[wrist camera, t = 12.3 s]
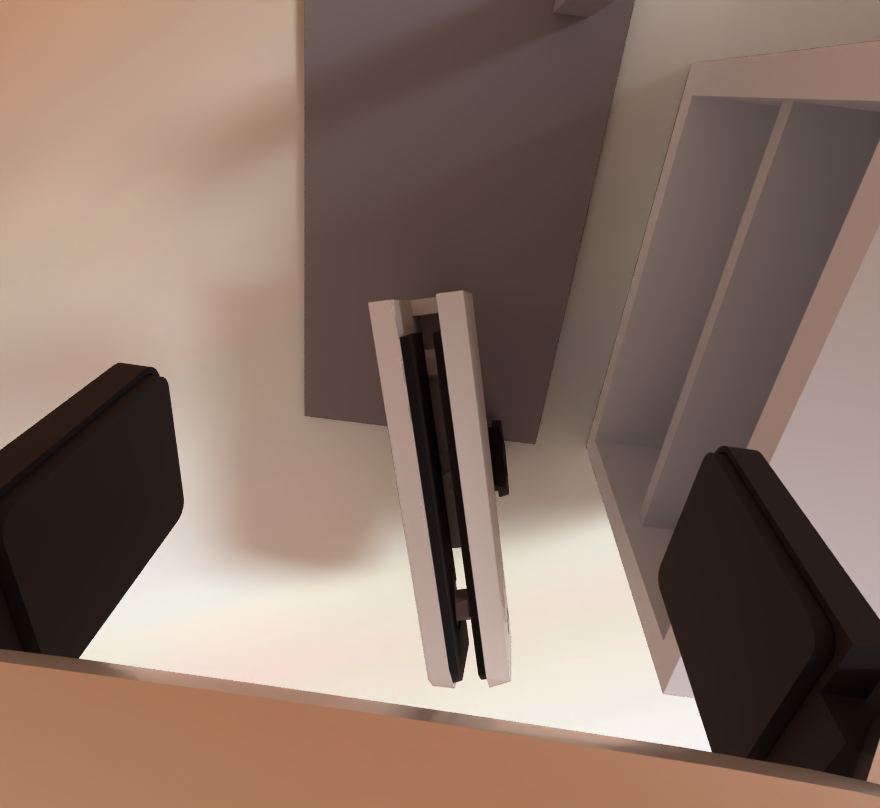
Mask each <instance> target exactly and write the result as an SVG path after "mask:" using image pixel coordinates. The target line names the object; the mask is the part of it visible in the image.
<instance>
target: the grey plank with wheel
mask: <svg viewBox="0 0 880 808" xmlns="http://www.w3.org/2000/svg"><path fill="white" fill-rule="evenodd" d="M368 305H369V311H370V318H371V324H372V330H373V336H374V343H375V349H376V355H377V361H378V368H379V374H380V380H381V387H382V393H383V399H384V405H385V412H386V418H387V424H388V431H389V437H390V443H391V449H392V456H393V462H394V468H395V474H396V481H397V487H398V493H399V500H400V506H401V512H402V518H403V525H404V531H405V537H406V544H407V550H408V556H409V562H410V569H411V575H412V581H413V587H414V594H415V600H416V606H417V613H418V619H419V625H420V631H421V638H422V644H423V650H424V657H425V663H426V669H427V675H428V680H429V681H430V683H431V684H432V685H433V686H438V687H447V688H455V685H456V682H459V681H461V680H462V679H463V673H464V668H465V662H466V657H467V651H468V646H469V639H468V631H467V623H466V620H470V619H471V623H472V631H473V638H474V646H475V653H476V661H477V668H478V675H479V677H480V678H481V680H483V679H487V681H488V684H489V687H493V686H497V685H500V684H503V683H507V682H510V681H511V632H510V623H509V614H508V605H507V597H506V588H505V579H504V570H503V561H502V552H501V544H500V535H499V526H498V517H497V508H496V499H495V491H497V490H498V492H499V497H502V496H505V495H508V494H509V486H508V473H507V463H506V453H505V443H504V436H503V429H502V423H501V420H492V424H491V425H492V427H489V428H487V420H486V411H485V402H484V393H483V384H482V376H481V367H480V358H479V349H478V340H477V331H476V322H475V314H474V305H473V296H472V294H471V293H468V292H466V291H463V290H462V291H454V292H446V293H438V294H436V297H432V298H425V299H417V300H393V299H392V300H384V301H377V302H369V303H368ZM459 547H461V549H462V557H463V564H464V572H465V579H466V586H467V589H459V590H457V587H456V573H455V566H454V559H453V551H452V548H459Z"/></svg>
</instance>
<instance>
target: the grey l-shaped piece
mask: <svg viewBox="0 0 880 808" xmlns="http://www.w3.org/2000/svg"><path fill="white" fill-rule="evenodd" d="M634 1H635V0H305V416H310V417H318V418H326V419H334V420H343V421H351V422H359V423H367V424H375V425H383V426H388V424H387V418H386V412H385V405H384V399H383V393H382V387H381V380H380V374H379V368H378V361H377V355H376V349H375V343H374V336H373V330H372V324H371V318H370V311H369V305H368V303H369V302H377V301H384V300H392V299H393V300H417V299H425V298H432V297H436V294H438V293H446V292H454V291H462V290H463V291H466V292H468V293H471V294H472V296H473V305H474V314H475V322H476V331H477V340H478V349H479V358H480V367H481V376H482V384H483V393H484V402H485V411H486V420H487V428H489V427H492V425H491V424H492V420H501V423H502V429H503V436H504V440H505V441H514V442H522V443H530V444H535V442H536V438H537V434H538V429H539V425H540V420H541V416H542V411H543V407H544V402H545V398H546V393H547V389H548V384H549V380H550V376H551V371H552V367H553V362H554V358H555V353H556V349H557V344H558V340H559V335H560V331H561V326H562V322H563V318H564V313H565V309H566V304H567V300H568V295H569V291H570V286H571V282H572V277H573V273H574V268H575V264H576V260H577V255H578V251H579V246H580V242H581V237H582V233H583V228H584V224H585V219H586V215H587V211H588V206H589V202H590V197H591V193H592V188H593V184H594V179H595V175H596V170H597V166H598V161H599V157H600V153H601V148H602V144H603V139H604V135H605V130H606V126H607V121H608V117H609V112H610V108H611V103H612V99H613V95H614V90H615V86H616V81H617V77H618V72H619V68H620V63H621V59H622V54H623V50H624V46H625V41H626V37H627V32H628V28H629V23H630V19H631V14H632V10H633V5H634Z"/></svg>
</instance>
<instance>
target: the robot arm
mask: <svg viewBox="0 0 880 808" xmlns="http://www.w3.org/2000/svg"><path fill="white" fill-rule="evenodd" d="M183 505H184V497H183V489H182V482H181V474H180V467H179V459H178V452H177V444H176V437H175V429H174V422H173V414H172V407H171V400H170V392H169V386H168V382H167V380H166V379H165V378H164V377H160V376H159V373H158V372H157V370H156V369H155V368H153V367H147V366H140V365H132V364H125V363H117V364H115V365H113V366H112V367H111V368H109V369H108V370H107V371H105V372H104V373H103V374H101V375H100V376H99V377H97V378H96V379H95V380H93V381H92V382H91V383H89V384H88V385H87V386H85V387H84V388H83V389H81V390H80V391H79V392H77V393H76V394H75V395H73V396H72V397H71V398H69V399H68V400H67V401H65V402H64V403H63V404H61V405H60V406H59V407H57V408H56V409H55V410H53V411H52V412H51V413H49V414H48V415H47V416H45V417H44V418H43V419H41V420H40V421H39V422H37V423H36V424H35V425H33V426H32V427H31V428H29V429H28V430H27V431H25V432H24V433H22V434H21V435H20V436H18V437H17V438H16V439H14V440H13V441H12V442H10V443H9V444H8V445H6V446H5V447H4V448H2V449H1V450H0V808H880V619H879V617H878V616H877V615H876V613H875V612H874V610H873V609H872V608H871V606H870V605H869V603H868V602H867V601H866V599H865V598H864V596H863V595H862V594H861V592H860V591H859V589H858V588H857V587H856V585H855V584H854V582H853V581H852V580H851V578H850V577H849V575H848V574H847V573H846V571H845V570H844V568H843V567H842V566H841V564H840V563H839V561H838V560H837V559H836V557H835V556H834V554H833V553H832V552H831V550H830V549H829V547H828V546H827V545H826V543H825V542H824V540H823V539H822V538H821V536H820V535H819V533H818V532H817V531H816V529H815V528H814V526H813V525H812V524H811V522H810V521H809V519H808V518H807V517H806V515H805V514H804V512H803V511H802V510H801V508H800V507H799V505H798V504H797V503H796V501H795V500H794V498H793V497H792V496H791V494H790V493H789V491H788V490H787V489H786V487H785V486H784V484H783V483H782V482H781V480H780V479H779V477H778V476H777V474H776V473H775V472H774V470H773V469H772V467H771V466H770V465H769V463H768V462H767V460H766V459H765V458H764V456H763V455H762V454H761V453H760V452H759V451H757V450H752V449H745V448H737V447H730V446H721V447H719V448H718V449H717V450H716V451H715V453H712V452H709V453H707V454H706V455H705V457H704V458H703V460H702V463H701V465H700V468H699V470H698V473H697V475H696V478H695V480H694V483H693V485H692V488H691V490H690V493H689V495H688V498H687V500H686V503H685V505H684V508H683V510H682V513H681V515H680V517H679V520H678V522H677V525H676V527H675V530H674V532H673V535H672V537H671V540H670V542H669V545H668V547H667V550H666V552H665V555H664V557H663V560H662V562H661V565H660V568H659V573H658V585H659V589H660V592H661V595H662V598H663V601H664V605H665V608H666V611H667V614H668V617H669V620H670V623H671V626H672V629H673V632H674V635H675V639H676V642H677V645H678V648H679V651H680V654H681V657H682V660H683V663H684V666H685V670H686V673H687V676H688V679H689V682H690V685H691V688H692V691H693V694H694V697H695V701H696V704H697V707H698V710H699V713H700V716H701V719H702V722H703V725H704V728H705V731H706V735H707V738H708V741H709V744H710V747H711V750H712V752H706V751H700V750H695V749H689V748H683V747H676V746H670V745H663V744H657V743H650V742H643V741H637V740H630V739H624V738H617V737H611V736H604V735H598V734H591V733H584V732H578V731H571V730H565V729H558V728H552V727H545V726H539V725H532V724H525V723H519V722H512V721H506V720H499V719H493V718H486V717H479V716H472V715H466V714H459V713H452V712H445V711H439V710H432V709H425V708H418V707H411V706H405V705H398V704H391V703H384V702H378V701H371V700H364V699H357V698H350V697H343V696H336V695H330V694H323V693H316V692H309V691H302V690H295V689H288V688H282V687H275V686H268V685H261V684H254V683H247V682H240V681H233V680H226V679H219V678H211V677H204V676H197V675H190V674H183V673H176V672H169V671H162V670H155V669H148V668H141V667H133V666H126V665H119V664H112V663H105V662H98V661H91V660H84V659H79V657H80V656H81V654H82V653H83V652H84V650H85V649H86V647H87V646H88V645H89V643H90V642H91V641H92V639H93V638H94V636H95V635H96V634H97V632H98V631H99V629H100V628H101V627H102V625H103V624H104V622H105V621H106V620H107V618H108V617H109V616H110V614H111V613H112V611H113V610H114V609H115V607H116V606H117V604H118V603H119V602H120V600H121V599H122V598H123V596H124V595H125V593H126V592H127V591H128V589H129V588H130V586H131V585H132V584H133V582H134V581H135V579H136V578H137V577H138V575H139V574H140V573H141V571H142V570H143V568H144V567H145V566H146V564H147V563H148V561H149V560H150V559H151V557H152V556H153V554H154V553H155V552H156V550H157V549H158V548H159V546H160V545H161V543H162V542H163V541H164V539H165V538H166V536H167V535H168V534H169V532H170V531H171V529H172V528H173V527H174V525H175V524H176V523H177V521H178V520H179V518H180V516H181V513H182V510H183Z"/></svg>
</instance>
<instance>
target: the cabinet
mask: <svg viewBox="0 0 880 808" xmlns="http://www.w3.org/2000/svg"><path fill="white" fill-rule="evenodd" d="M721 446H730V447H737V448H745V449H752V450H757V451H759V452H760V453H761V454H762V455H763V456H764V458H765V459H766V460H767V462H768V463H769V465H770V466H771V467H772V469H773V470H774V472H775V473H776V474H777V476H778V477H779V479H780V480H781V482H782V483H783V484H784V486H785V487H786V489H787V490H788V491H789V493H790V494H791V496H792V497H793V498H794V500H795V501H796V503H797V504H798V505H799V507H800V508H801V510H802V511H803V512H804V514H805V515H806V517H807V518H808V519H809V521H810V522H811V524H812V525H813V526H814V528H815V529H816V531H817V532H818V533H819V535H820V536H821V538H822V539H823V540H824V542H825V543H826V545H827V546H828V547H829V549H830V550H831V552H832V553H833V554H834V556H835V557H836V559H837V560H838V561H839V563H840V564H841V566H842V567H843V568H844V570H845V571H846V573H847V574H848V575H849V577H850V578H851V580H852V581H853V582H854V584H855V585H856V587H857V588H858V589H859V591H860V592H861V594H862V595H863V596H864V598H865V599H866V601H867V602H868V603H869V605H870V606H871V608H872V609H873V610H874V612H875V613H876V615H877V616H878V617H879V619H880V40H879V41H871V42H863V43H855V44H846V45H838V46H830V47H821V48H813V49H805V50H796V51H788V52H780V53H771V54H763V55H755V56H746V57H738V58H730V59H721V60H713V61H705V62H697V63H692V64H691V68H690V71H689V75H688V79H687V82H686V86H685V90H684V93H683V97H682V101H681V104H680V108H679V111H678V115H677V119H676V122H675V126H674V130H673V133H672V137H671V141H670V144H669V148H668V152H667V155H666V159H665V162H664V166H663V170H662V173H661V177H660V181H659V184H658V188H657V192H656V195H655V199H654V202H653V206H652V210H651V213H650V217H649V221H648V224H647V228H646V232H645V235H644V239H643V242H642V246H641V250H640V253H639V257H638V261H637V264H636V268H635V272H634V275H633V279H632V283H631V286H630V290H629V293H628V297H627V301H626V304H625V308H624V312H623V315H622V319H621V323H620V326H619V330H618V333H617V337H616V341H615V344H614V348H613V352H612V355H611V359H610V363H609V366H608V370H607V374H606V377H605V381H604V384H603V388H602V392H601V395H600V399H599V403H598V406H597V410H596V414H595V417H594V421H593V424H592V428H591V432H590V435H589V439H588V443H587V446H586V448H587V451H588V454H589V458H590V461H591V464H592V467H593V470H594V474H595V477H596V480H597V483H598V486H599V490H600V493H601V496H602V499H603V503H604V506H605V509H606V512H607V515H608V519H609V522H610V525H611V528H612V531H613V535H614V538H615V541H616V544H617V547H618V551H619V554H620V557H621V560H622V564H623V567H624V570H625V573H626V576H627V580H628V583H629V586H630V589H631V592H632V596H633V599H634V602H635V605H636V609H637V612H638V615H639V618H640V621H641V625H642V628H643V631H644V634H645V637H646V641H647V644H648V647H649V650H650V653H651V657H652V660H653V663H654V666H655V670H656V673H657V676H658V679H659V682H660V686H661V689H662V692H663V694H666V695H674V696H683V697H691V698H695V697H694V694H693V691H692V688H691V685H690V682H689V679H688V676H687V673H686V670H685V666H684V663H683V660H682V657H681V654H680V651H679V648H678V645H677V642H676V639H675V635H674V632H673V629H672V626H671V623H670V620H669V617H668V614H667V611H666V608H665V605H664V601H663V598H662V595H661V592H660V589H659V585H658V573H659V568H660V565H661V562H662V560H663V557H664V555H665V552H666V550H667V547H668V545H669V542H670V540H671V537H672V535H673V532H674V530H675V527H676V525H677V522H678V520H679V517H680V515H681V513H682V510H683V508H684V505H685V503H686V500H687V498H688V495H689V493H690V490H691V488H692V485H693V483H694V480H695V478H696V475H697V473H698V470H699V468H700V465H701V463H702V460H703V458H704V457H705V455H706V454H707V453H709V452H712V453H715V451H716V450H717V449H718V448H719V447H721Z"/></svg>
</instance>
